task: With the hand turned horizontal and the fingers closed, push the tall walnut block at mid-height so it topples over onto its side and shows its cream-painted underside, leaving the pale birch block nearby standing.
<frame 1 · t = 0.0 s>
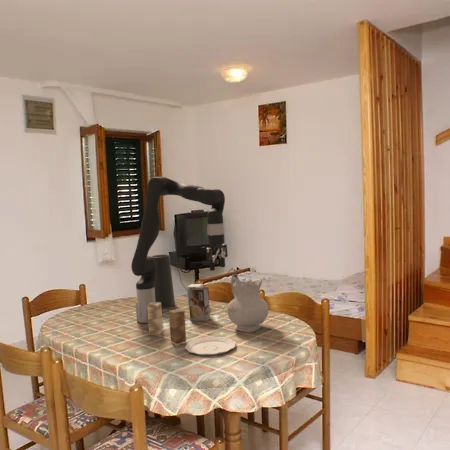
hand: (217, 268, 208), 29 cm above the table, tool pointing down, fingers open, 8 cm apart
supplement box: (196, 307, 257), on the table
birch block: (156, 333, 213), on the table
vase: (163, 305, 267), on the table
ceramic pitcher: (246, 328, 215), on the table
plate: (210, 349, 189), on the table
walnut block: (178, 342, 199), on the table
coffee box: (200, 319, 233), on the table
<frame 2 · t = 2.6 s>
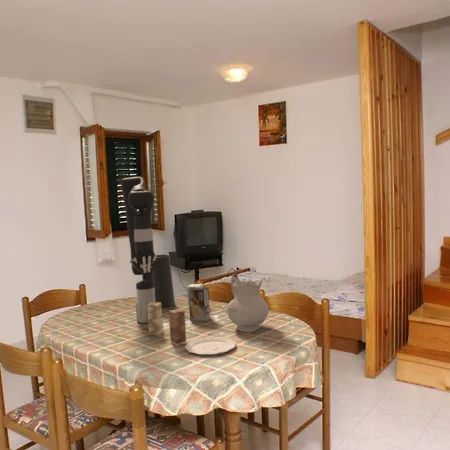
hand: (146, 281, 189), 29 cm above the table, tool pointing down, fingers closed
nothing on the table moved.
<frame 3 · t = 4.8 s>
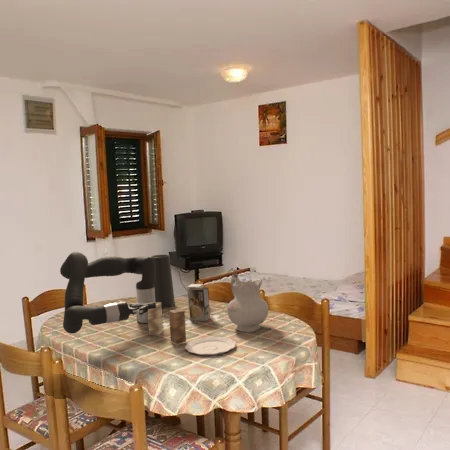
hand: (155, 305, 192), 18 cm above the table, tool horizontal, fingers closed
nothing on the table moved.
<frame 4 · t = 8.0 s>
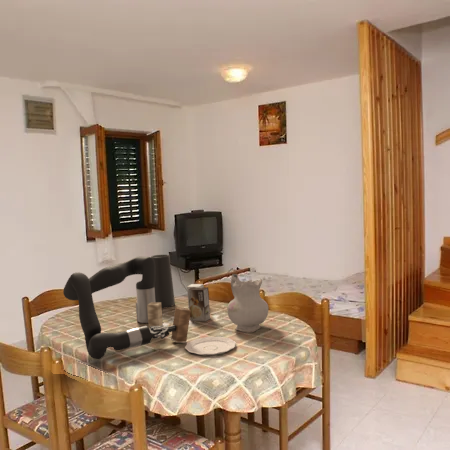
hand: (175, 327, 197), 7 cm above the table, tool horizontal, fingers closed
walnut block: (178, 341, 199), point 1 cm above the table, tilted 13°, touching gripper
everything else where it was.
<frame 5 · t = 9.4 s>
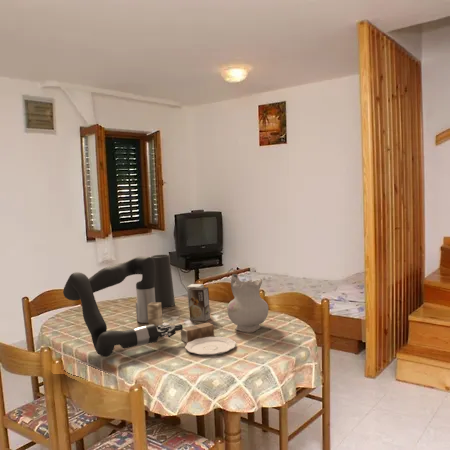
hand: (181, 326, 199), 7 cm above the table, tool horizontal, fingers closed
walnut block: (183, 335, 200), point 2 cm above the table, tilted 90°
everything else where it was.
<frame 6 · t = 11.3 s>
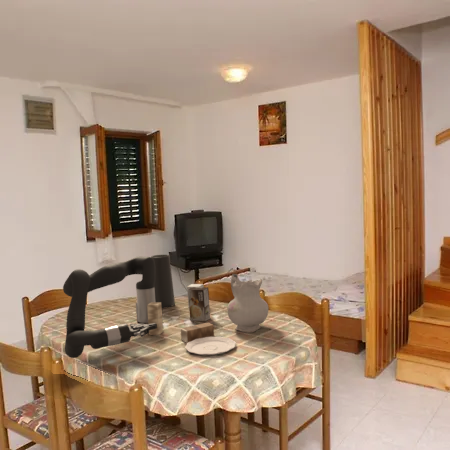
hand: (156, 325, 192), 9 cm above the table, tool horizontal, fingers closed
nothing on the table moved.
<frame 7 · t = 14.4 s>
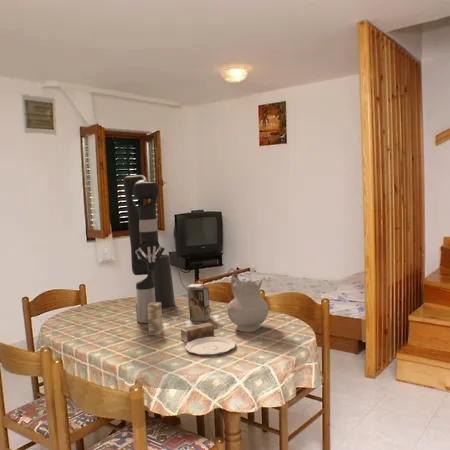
hand: (151, 270, 192), 33 cm above the table, tool pointing down, fingers closed
nothing on the table moved.
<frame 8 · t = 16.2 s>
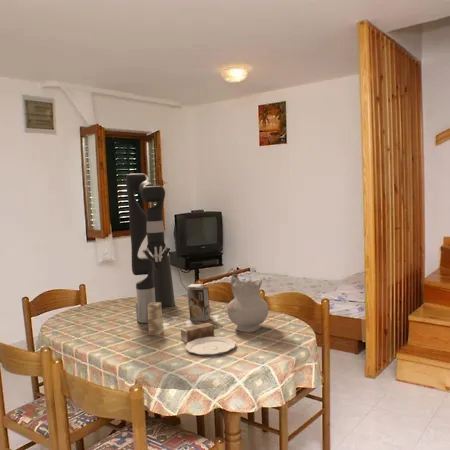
hand: (157, 269, 204), 31 cm above the table, tool pointing down, fingers closed
nothing on the table moved.
at the end: walnut block tilted 90°; walnut block inside the target area (2.5 cm from its centre), point 2.4 cm above the table; birch block tilted 0° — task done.
